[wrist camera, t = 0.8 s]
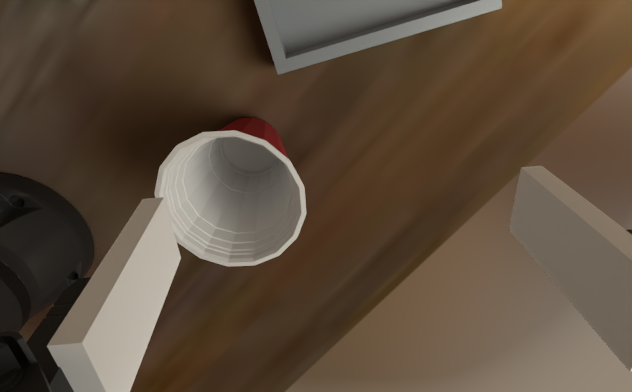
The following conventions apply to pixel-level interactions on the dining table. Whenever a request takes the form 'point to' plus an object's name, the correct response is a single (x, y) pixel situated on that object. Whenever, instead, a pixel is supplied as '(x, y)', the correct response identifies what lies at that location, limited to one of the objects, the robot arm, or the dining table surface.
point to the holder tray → (351, 25)
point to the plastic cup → (233, 194)
